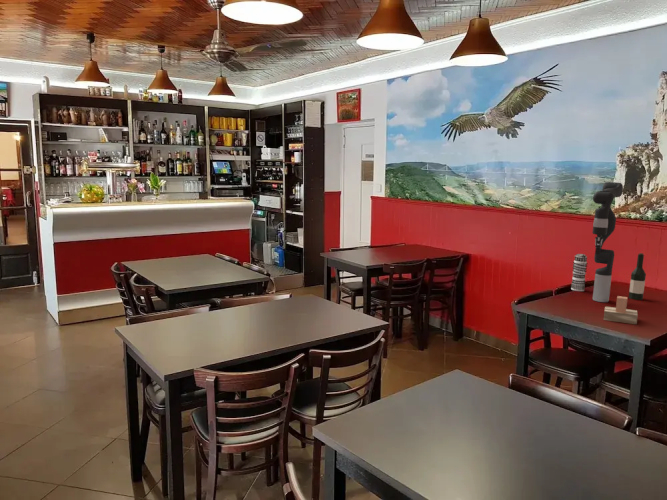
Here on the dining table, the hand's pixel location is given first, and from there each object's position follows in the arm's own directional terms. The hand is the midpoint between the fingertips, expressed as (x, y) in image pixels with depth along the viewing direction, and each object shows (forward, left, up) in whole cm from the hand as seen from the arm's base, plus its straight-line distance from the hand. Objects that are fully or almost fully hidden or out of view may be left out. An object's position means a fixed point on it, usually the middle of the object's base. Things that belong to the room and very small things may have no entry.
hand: (597, 253), depth 302 cm
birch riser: (+14, +15, -34) cm, 40 cm away
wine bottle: (-48, +24, -34) cm, 64 cm away
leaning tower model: (-53, -11, -34) cm, 64 cm away
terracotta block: (+15, +15, -29) cm, 36 cm away
